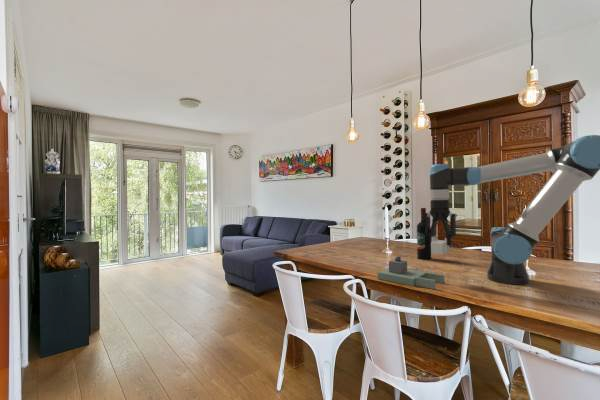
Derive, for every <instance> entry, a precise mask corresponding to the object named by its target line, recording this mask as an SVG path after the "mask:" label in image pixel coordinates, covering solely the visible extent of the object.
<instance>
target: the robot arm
mask: <svg viewBox="0 0 600 400" xmlns="http://www.w3.org/2000/svg"><path fill="white" fill-rule="evenodd" d="M599 171H600V134H590V135H583V136H581V137H578V139H576V140H573V141H571V142H569V143H568V144H565V145H563V146H559V147H556V148H551V149H548V150H547V151H546V152H544V153H540V154H539V153H538V154H534V155H530V156H523V157H519V158H514V159H510V160H504V161H500V162H495V163H490V164H485V165H480V166H466V167H456V168H453V167H449V164H448V163H437V164H432V165H431V166H430V169H429V189H430V190H429V191H430V195H429V197H430V211H429V212H426V213H424V216H425V234H426V235H429V237H430V244H431V242H433V241H437V236H436V235H435V234H436V230H437V225H438V222H439V221H441V223H442V226H443V229H444V235H445V238H444V241H445V253H447V254H449V253H450V246H451V245H452V238H455V237H456V236H457V232H456V231H457V230H456V229H457V228H456V223H457V222H456V219H457V213H452V212H451V211H450V200H449V198H450V187H451V186H463V187H467V186H475V185H476V186H477V185H481V184H482V183H487V182H488V183H489V182H493V181H501V180H505V179H510V178H516V177H517V178H518V177H522V176H528V175H534V174H539V173H546V172H551V173H553V174H552V175H551V176H550V178H549V179H548V180H547V181H546V182H545V184H544V185H543V186H542V188H541V189H540V190H539V191H538V193H537V194H536V195H535V196H534V198H533V199H532V200H531V201H530V203H529V204H528V205H527V207H526V208H525V209H524V210H523V211H522V213H521V214H520V215H519V217H518V218H517V219H516V220H515V221H514V222H509V223H507V224H506V226H505V227H503V226H502V227H501V226H497V227H496V226H495V227H494V226H493V227H492V228H491V230H490V239H491V240H490V241H491V242H490V243H491V245H490V246H491V249H490V250H491V261H490V264H489V267H488V270H487V271H486V277H487V279H489V280H490V281H492V282H497V283H502V284H509V285H526V284H529V283H530V276H529V273H528V271H527V269H526V266H525V263H526V262H527V261H528V260H529V259H530V257H531V255H532V251H533V249H534V248H535V247H536V246H537V244H538V243H539V242H540V238H539V234H540V233H541V232H542V231H543V230H544V229H545V227H546V226H547V225H548V224H549V223H550V222H551V220H552V219H553V218H554V217H555V215H556V214H557V213H558V212H559V211H560V210H561V208H562V207H563V206H564V205H565V203H566V202H567V201H568V200H569V199H570V198H571V196H572V195H573V194H574V193H575V191H576V190H577V189H578V188H579V187H580V186H581V185H582V183H583V182H586V181H590V180H592V179H593V178H594V177H595V176H596V175H597V173H598V172H599ZM431 217H432V220H431ZM448 217H449V218H450V219H449V220H450V222H449V221H448ZM431 221H432V222H431ZM449 224H450V225H449ZM430 227H431V230H430Z"/></svg>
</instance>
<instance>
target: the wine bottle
mask: <svg viewBox="0 0 600 400" xmlns="http://www.w3.org/2000/svg"><path fill="white" fill-rule="evenodd" d="M424 213H427V208H426V207H420V222H418V223H417V225H416V247H417V249H416V250H417V252H416V253H417V259H418V260H422V261H429V260H432V253H431V244H430V237H429V235H426V234H425V216H424ZM430 230H431V226H430Z"/></svg>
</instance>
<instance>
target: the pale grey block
mask: <svg viewBox="0 0 600 400" xmlns="http://www.w3.org/2000/svg"><path fill="white" fill-rule="evenodd" d="M432 254H433V255H439V256H443V255H444V256H445V255H447V254H448V253H445V240H440V239H438V240H437V239H436V241H433V242H431V255H432Z"/></svg>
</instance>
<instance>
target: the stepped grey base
mask: <svg viewBox="0 0 600 400" xmlns="http://www.w3.org/2000/svg"><path fill="white" fill-rule="evenodd" d="M401 258H402V257H401V256H400V255H396V256H395V257H394V259H391V260H388V268H386V269H383V270H381V271H378V272H377V280H381V281H386V282H390V283H394V284H395V283H396V284H401V285H405V286H410V287H415V286H417V287H421V288H427V289H432V290H436V286H437V285H436V283H438V284H445V279H446V278H445V274H441V273H439V274H438V273H434V272H427V271H422V270H420V271H419V270H415V269H410V268H409V269H408V260H406V259H405V260H404V259H401Z"/></svg>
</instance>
